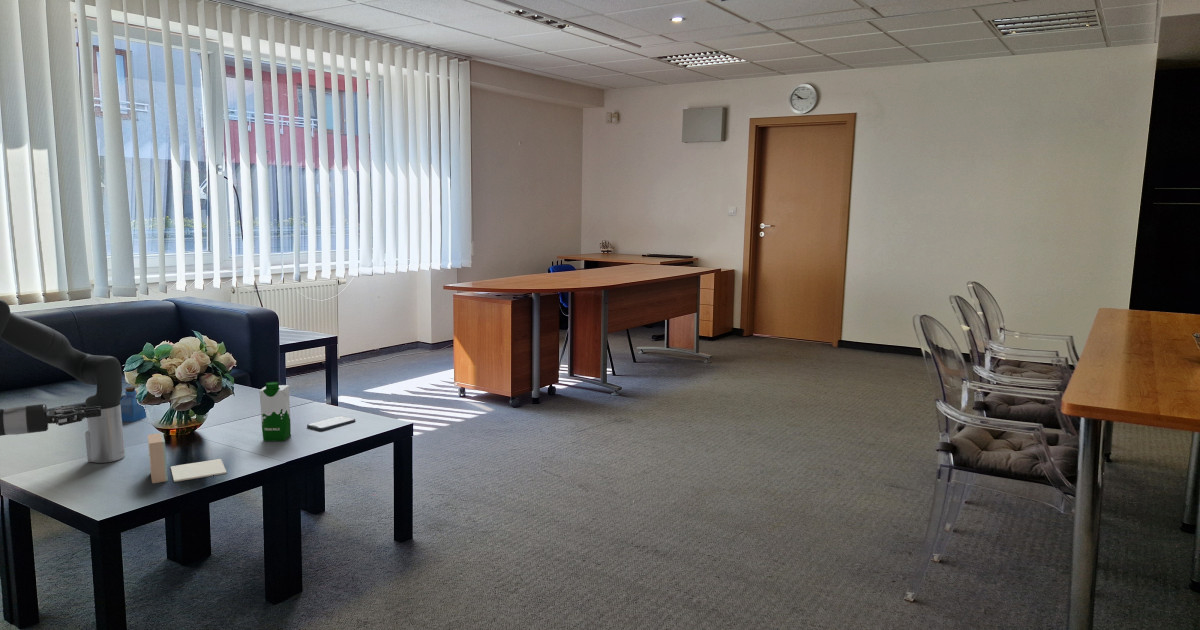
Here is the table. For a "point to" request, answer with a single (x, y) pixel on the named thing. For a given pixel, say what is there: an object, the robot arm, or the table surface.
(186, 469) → the felt mat
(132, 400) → the perfume bottle
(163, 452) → the beige rectangular block
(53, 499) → the table surface
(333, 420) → the phone case
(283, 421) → the milk carton
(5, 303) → the robot arm
